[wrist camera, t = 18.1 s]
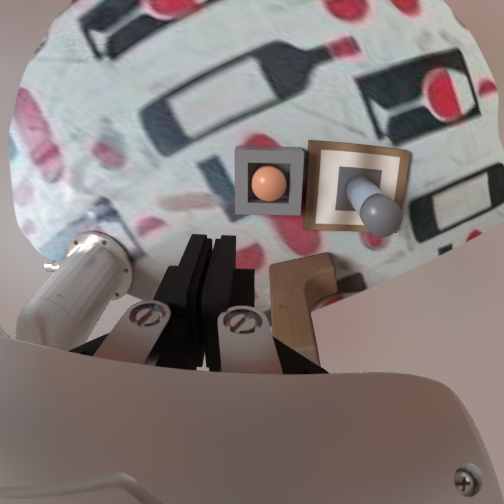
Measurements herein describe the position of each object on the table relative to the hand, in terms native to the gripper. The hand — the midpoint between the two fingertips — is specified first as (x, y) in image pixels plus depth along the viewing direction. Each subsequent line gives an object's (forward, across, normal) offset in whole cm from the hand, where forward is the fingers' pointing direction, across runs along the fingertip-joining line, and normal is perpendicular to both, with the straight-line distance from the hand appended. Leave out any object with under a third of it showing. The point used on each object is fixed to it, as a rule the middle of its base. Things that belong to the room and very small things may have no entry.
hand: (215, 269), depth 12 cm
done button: (+27, -3, +3) cm, 27 cm away
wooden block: (+29, -9, +17) cm, 35 cm away
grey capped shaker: (+27, -15, +4) cm, 32 cm away
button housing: (+29, -3, +3) cm, 29 cm away
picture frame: (+29, -15, +4) cm, 33 cm away
